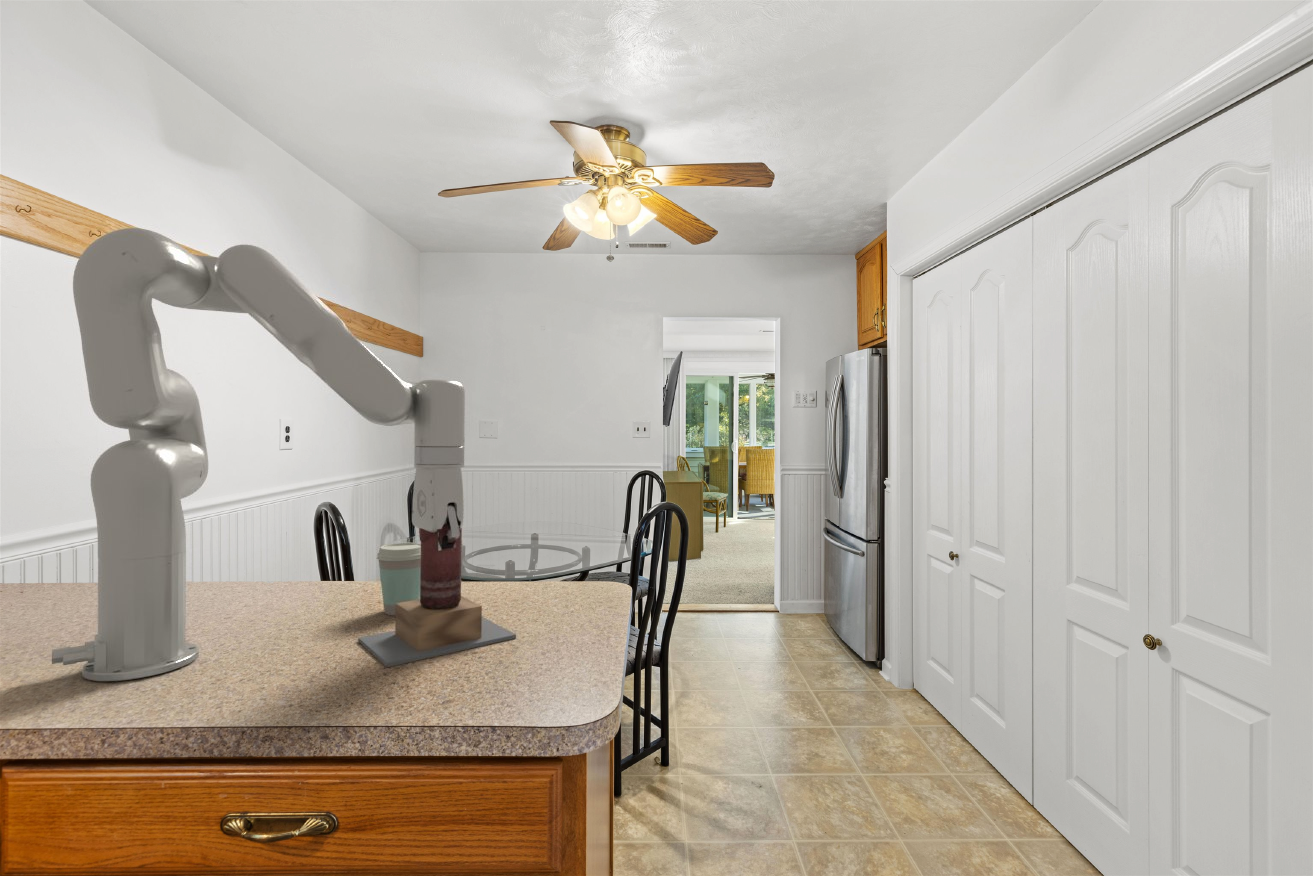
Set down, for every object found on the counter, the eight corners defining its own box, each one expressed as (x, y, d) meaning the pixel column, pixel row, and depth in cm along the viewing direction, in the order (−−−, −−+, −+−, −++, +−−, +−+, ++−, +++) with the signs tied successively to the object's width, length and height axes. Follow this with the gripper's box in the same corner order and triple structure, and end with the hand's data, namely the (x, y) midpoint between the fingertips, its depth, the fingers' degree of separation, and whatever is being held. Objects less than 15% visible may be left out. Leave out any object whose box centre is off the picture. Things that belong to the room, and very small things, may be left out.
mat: (387, 667, 88) (387, 662, 88) (358, 641, 99) (358, 637, 98) (516, 638, 101) (516, 634, 101) (478, 618, 112) (478, 614, 112)
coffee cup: (434, 605, 119) (434, 542, 119) (412, 618, 111) (412, 551, 111) (391, 603, 120) (392, 541, 120) (366, 616, 112) (367, 549, 112)
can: (416, 602, 101) (417, 515, 101) (457, 598, 104) (459, 513, 104) (419, 611, 95) (420, 519, 95) (463, 607, 98) (464, 518, 98)
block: (417, 651, 93) (418, 617, 93) (395, 634, 100) (395, 603, 100) (481, 637, 99) (481, 606, 99) (455, 622, 107) (455, 593, 107)
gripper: (397, 456, 103) (396, 568, 103) (436, 460, 91) (435, 587, 91) (442, 456, 108) (441, 562, 108) (484, 459, 96) (483, 579, 96)
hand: (438, 572), depth 100 cm, fingers open, 3 cm apart
